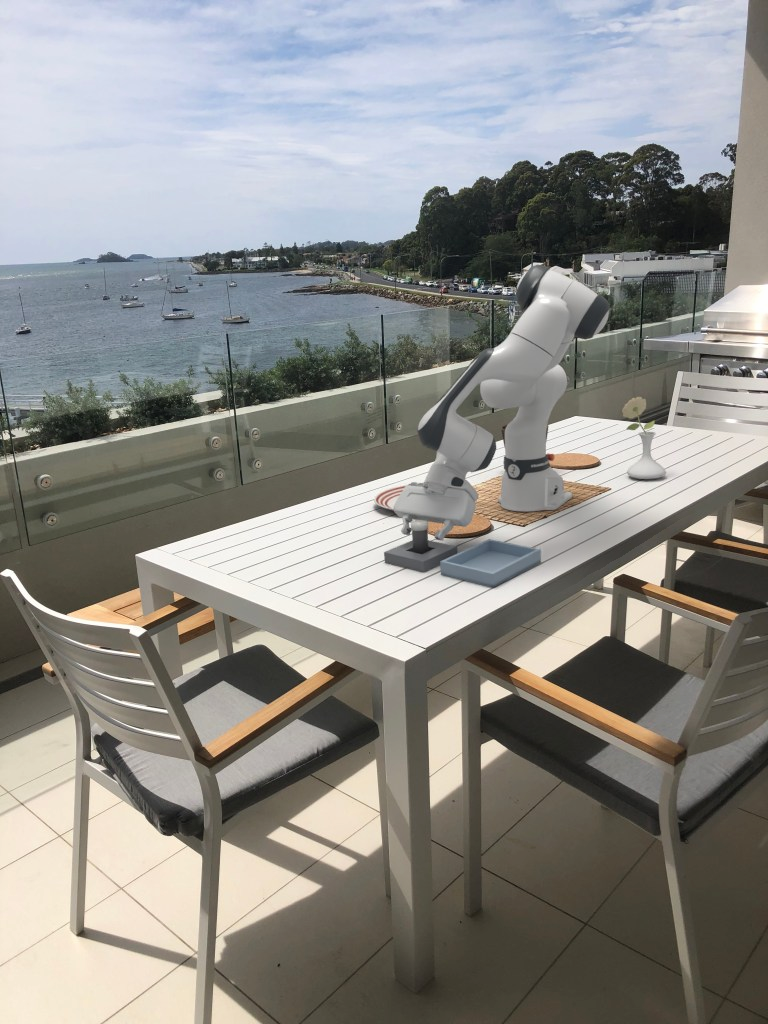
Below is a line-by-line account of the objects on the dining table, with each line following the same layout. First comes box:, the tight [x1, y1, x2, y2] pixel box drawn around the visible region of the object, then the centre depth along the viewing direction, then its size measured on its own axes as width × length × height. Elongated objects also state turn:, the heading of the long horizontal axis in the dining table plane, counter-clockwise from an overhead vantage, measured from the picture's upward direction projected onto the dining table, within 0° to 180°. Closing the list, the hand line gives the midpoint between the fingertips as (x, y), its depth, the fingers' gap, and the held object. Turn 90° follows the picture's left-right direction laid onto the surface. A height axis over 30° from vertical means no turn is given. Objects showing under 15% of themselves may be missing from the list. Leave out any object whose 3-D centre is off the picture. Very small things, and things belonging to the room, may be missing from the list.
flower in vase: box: [621, 396, 667, 480], centre depth 229 cm, size 13×11×25 cm
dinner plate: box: [373, 484, 411, 512], centre depth 221 cm, size 27×27×3 cm
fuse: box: [410, 520, 429, 554], centre depth 175 cm, size 4×4×9 cm
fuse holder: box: [383, 539, 458, 573], centre depth 176 cm, size 12×12×2 cm
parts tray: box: [439, 538, 542, 589], centre depth 167 cm, size 18×14×3 cm
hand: (421, 536), depth 174 cm, fingers open, 8 cm apart
